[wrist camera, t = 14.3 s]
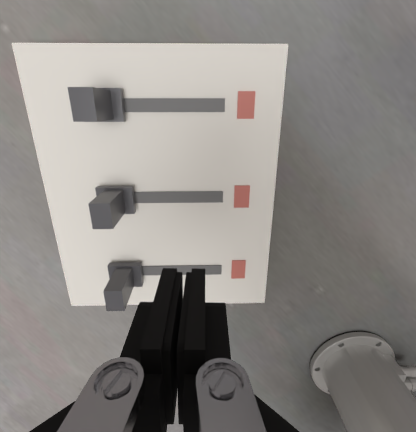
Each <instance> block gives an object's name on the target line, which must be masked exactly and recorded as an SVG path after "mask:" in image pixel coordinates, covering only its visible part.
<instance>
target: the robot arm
mask: <svg viewBox="0 0 416 432" xmlns="http://www.w3.org/2000/svg"><path fill="white" fill-rule="evenodd" d="M310 373H311V376H312V379H313V381H314V383H315V384H316V386H317V387H318V388H319V389H321V390H322V391H323V392H325V393H328V394H331V397H332V399H333V401H334V403H335V406H336V408H337V410H338V412H339V414H340V417H341V419H342V421H343V423H344V425H345V428H346V430H347V432H416V399H415V397H414V396H413V395H412V393H411V392H410V391H416V366H406V367H401V366H400V365H398V364H397V363H396V361H395V354H394V352H393V349H392V348H391V347H390V345H389V344H388V343H387V342H386V341H385V340H384V339H383V338H381V337H380V336H378V335H375V334H372V333H367V332H351V333H346V334H342V335H339V336H337V337H335V338H332V339H330V340H329V341H327V342H326V343H324V344H323V345H322V346H321V347H320V348H319V349H318V350H317V351H316V353H315V354H314V356H313V358H312V360H311V363H310ZM177 388H178V415H179V424H183V427H184V432H299V431H298V430H297V429H295V428H294V427H293V426H292V425H291V424H289V423H288V422H287V421H286V420H285V419H283V418H282V417H281V416H280V415H279V414H277V413H276V412H275V411H274V410H273V409H271V408H270V407H269V406H268V405H267V404H265V403H264V402H263V401H262V400H260V399H259V398H258V397H257V396H256V395H254V392H253V389H252V386H251V383H250V380H249V377H248V375H247V373H246V371H245V369H244V368H243V367H242V366H241V365H240V364H238V363H237V362H235V361H233V360H231V356H230V346H229V336H228V326H227V315H226V306H225V303H214V302H205V269H197V268H192V272H186V279H185V286H184V294H183V276H182V272H177V268H163V269H162V273H161V276H160V280H159V283H158V287H157V290H156V294H155V297H154V301H153V302H140V303H139V305H138V308H137V311H136V313H135V316H134V319H133V322H132V325H131V327H130V330H129V333H128V336H127V339H126V341H125V344H124V347H123V350H122V353H121V355H120V357H119V358H115V359H111V360H109V361H107V362H105V363H103V364H102V365H101V366H100V367H98V368H97V369H96V370H95V371H94V373H93V374H92V375H91V377H90V378H89V380H88V382H87V383H86V385H85V387H84V388H83V390H82V391H81V393H80V395H79V396H78V398H77V400H76V401H74V402H73V403H71V404H70V405H68V406H67V407H65V408H64V409H62V410H61V411H60V412H58V413H57V414H55V415H54V416H52V417H51V418H49V419H48V420H46V421H45V422H43V423H42V424H40V425H39V426H37V427H36V428H34V429H33V430H31V431H30V432H166V430H167V424H174V417H175V407H176V398H177Z"/></svg>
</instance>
